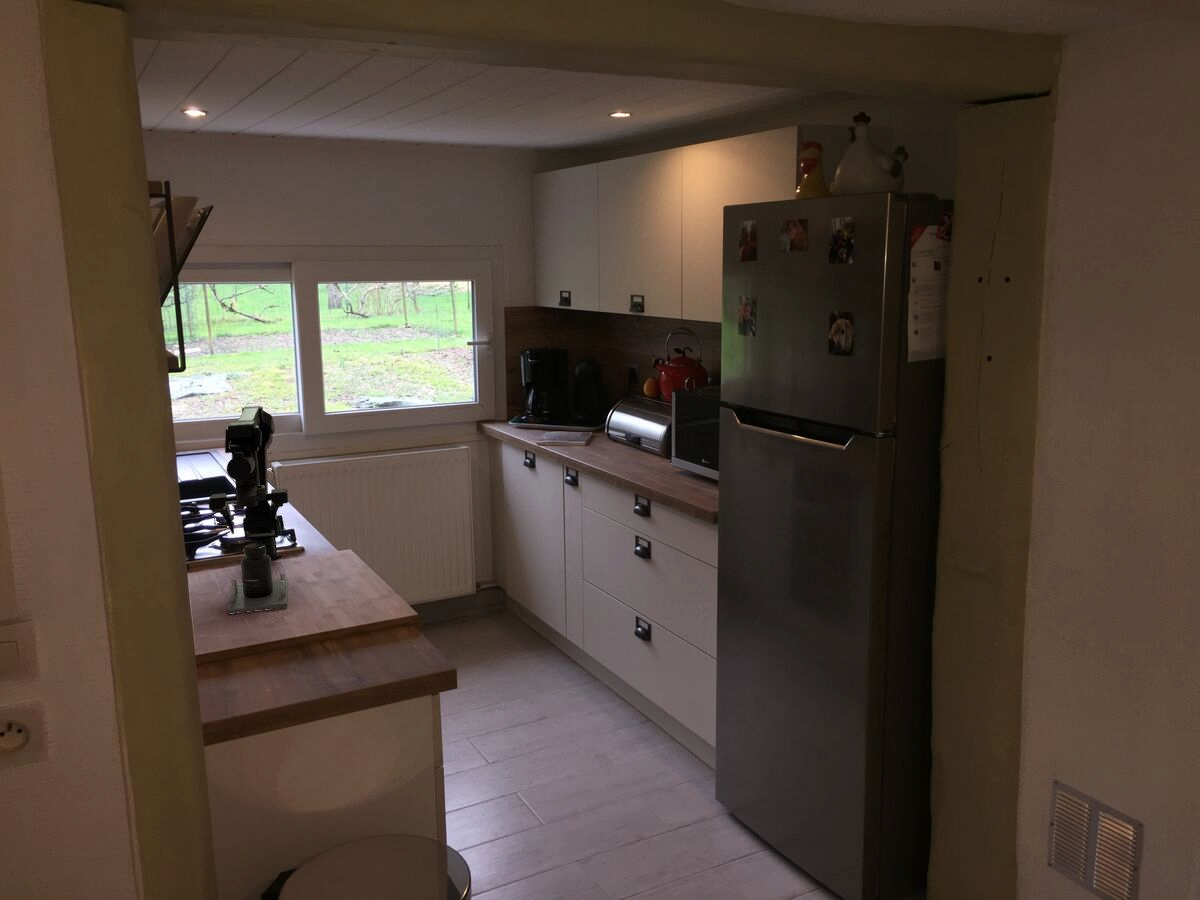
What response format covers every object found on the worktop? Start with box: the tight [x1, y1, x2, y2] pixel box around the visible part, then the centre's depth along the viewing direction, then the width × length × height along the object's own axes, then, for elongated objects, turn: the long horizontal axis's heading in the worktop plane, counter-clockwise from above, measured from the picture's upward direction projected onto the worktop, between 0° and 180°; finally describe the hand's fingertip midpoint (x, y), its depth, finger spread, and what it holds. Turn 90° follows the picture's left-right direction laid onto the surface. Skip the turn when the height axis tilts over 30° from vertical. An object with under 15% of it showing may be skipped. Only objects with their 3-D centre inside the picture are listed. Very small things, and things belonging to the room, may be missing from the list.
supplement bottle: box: [240, 543, 274, 598], centre depth 231 cm, size 7×7×12 cm
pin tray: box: [227, 572, 289, 615], centre depth 231 cm, size 18×13×5 cm
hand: (252, 531), depth 246 cm, fingers open, 9 cm apart
